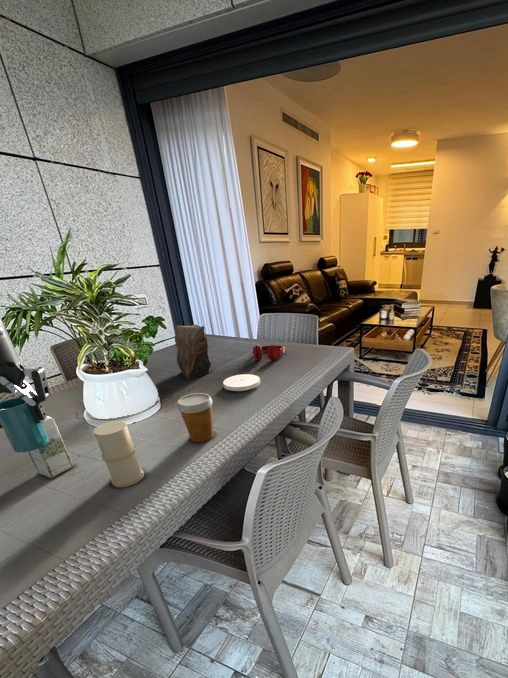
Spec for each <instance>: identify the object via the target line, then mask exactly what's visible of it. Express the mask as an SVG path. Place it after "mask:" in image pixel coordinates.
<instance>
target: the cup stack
mask: <svg viewBox="0 0 508 678" xmlns="http://www.w3.org/2000/svg"><path fill="white" fill-rule="evenodd" d="M93 435H94V437H95V440H96V442H97V445H98V447H99V451H100V452H101V459H102V461H103V462H104V463H105V465H106V468H107V470H108V473H109V476H110V482H111V484H112V486H113V487H116V488H126V487H131V486H133V485H135V484H137V483H139V482H140V481H141V480H143V478H144V476H145V472H144V469H142V466H141V464H140V460H139V458H138V455H137V448H136V445H134V442H133V440H132V437H131V433H130V429H129V428H128V424H127V422H125V421H122V420H116V421H115V420H114V421H109V422H106V423H103V424H101V425H98V426H97V427H96V428H94V430H93Z"/></svg>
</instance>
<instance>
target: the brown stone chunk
mask: <svg viewBox="0 0 508 678" xmlns="http://www.w3.org/2000/svg"><path fill="white" fill-rule="evenodd" d="M174 329H175V333H174V342H175V347H176V349H177V351H176V363H177V365H178V367H179V371H180V372H181V375H182V376H184V378H185V379H187V380H191V379H194V378H197V377H199V376H200V377H202V376H204V375H208V374H210V373H211V372H212V371H211V370H210V369H211V367H212V362H211V359H210V355H209V348H210V346H209V345H210V344H209V342H208V337H207V335H206V332H205V330H206V329H205V326H204V325H202V326H201V325H197V324H192V325H175V326H174Z"/></svg>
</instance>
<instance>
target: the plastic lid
mask: <svg viewBox="0 0 508 678" xmlns="http://www.w3.org/2000/svg"><path fill="white" fill-rule="evenodd" d="M222 384H223V388H224V389H225V390H227V391H231V392H244V391H249V390H252V389H255V388H257V387H258V386H259V385H261V378H260V377H259V376H258V375H255V374H251V373H250V374H249V373H243V374H236V375H232V376H229V377H227V378H225V379H224V380H223V381H222Z"/></svg>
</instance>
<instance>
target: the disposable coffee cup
mask: <svg viewBox="0 0 508 678" xmlns="http://www.w3.org/2000/svg"><path fill="white" fill-rule="evenodd" d="M213 402H214V401H213V398H211V396H210V394H208V393H204V392H200V393H199V392H195V393H189V394H187V395H184V396H182V397H180V398H178V400H177V405H176V408H177V410H178V411H179V412H180V415H181V418H182V420H183V422H184V424H185V428H186V429H187V432H188V435H189V437H190V439H191V441H192V442H194V443H203V442H208V441H209V440H211V439H212V438H213V437H214V421H213Z"/></svg>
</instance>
